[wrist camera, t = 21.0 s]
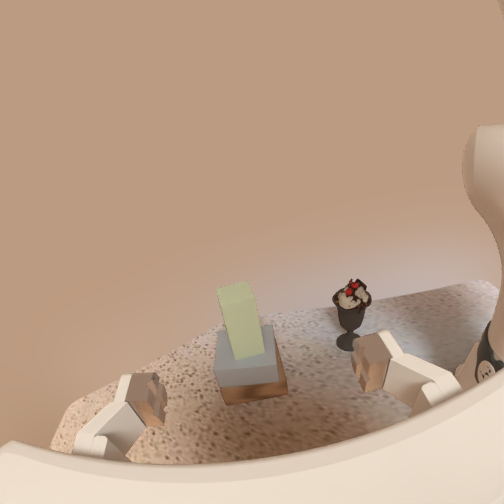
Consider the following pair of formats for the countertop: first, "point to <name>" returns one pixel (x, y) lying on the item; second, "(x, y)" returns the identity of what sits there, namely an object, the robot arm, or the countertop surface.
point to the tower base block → (257, 388)
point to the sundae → (351, 311)
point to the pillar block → (241, 319)
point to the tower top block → (246, 362)
